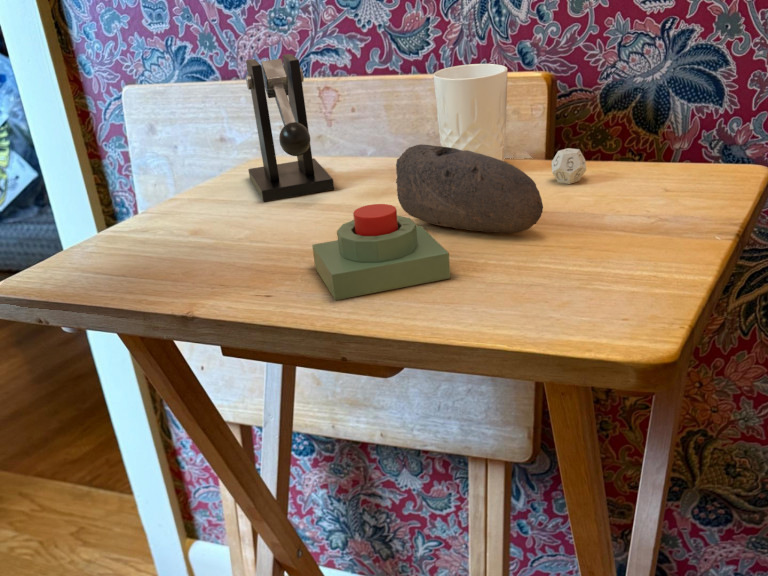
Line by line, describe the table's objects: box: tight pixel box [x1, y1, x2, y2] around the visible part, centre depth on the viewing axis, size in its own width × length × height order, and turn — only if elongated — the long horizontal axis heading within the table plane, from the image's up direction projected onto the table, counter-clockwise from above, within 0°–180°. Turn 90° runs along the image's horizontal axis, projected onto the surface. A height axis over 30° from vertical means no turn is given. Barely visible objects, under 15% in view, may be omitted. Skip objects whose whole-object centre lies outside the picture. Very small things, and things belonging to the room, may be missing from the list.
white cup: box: [432, 63, 509, 162], centre depth 97 cm, size 8×8×10 cm
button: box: [352, 203, 398, 236], centre depth 74 cm, size 4×4×2 cm
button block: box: [311, 214, 451, 301], centre depth 76 cm, size 10×8×4 cm
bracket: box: [245, 53, 335, 203], centre depth 98 cm, size 10×8×13 cm
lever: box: [260, 58, 311, 157], centre depth 93 cm, size 12×3×3 cm, turn 16°
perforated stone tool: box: [395, 144, 544, 234], centre depth 82 cm, size 15×5×7 cm, turn 51°
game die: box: [550, 147, 587, 185], centre depth 93 cm, size 4×4×3 cm
